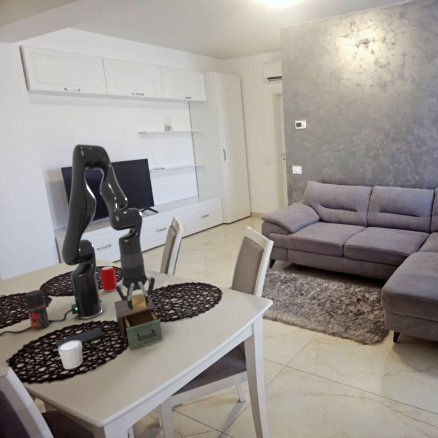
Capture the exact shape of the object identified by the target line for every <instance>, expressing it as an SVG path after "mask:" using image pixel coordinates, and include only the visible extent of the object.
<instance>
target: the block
mask: <svg viewBox="0 0 438 438" xmlns="http://www.w3.org/2000/svg"><path fill="white" fill-rule="evenodd" d="M131 300H132V306H133V311H137V310H141V309H144V308H146V302H145V297H144V294H143V292H142V293H137V294H132V296H131Z"/></svg>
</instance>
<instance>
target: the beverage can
mask: <svg viewBox="0 0 438 438" xmlns="http://www.w3.org/2000/svg"><path fill="white" fill-rule="evenodd" d="M100 277H101V282H102V288H103V289H102V290H103V291H105V292H109V293H110V292H114V291H115V290H116V288H115V285H116V284H118V283H117V278H116V271H115V268H114V267H113V266H112V265H108V266H104V267H102V268H101V270H100Z"/></svg>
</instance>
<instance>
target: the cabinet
mask: <svg viewBox="0 0 438 438" xmlns="http://www.w3.org/2000/svg"><path fill="white" fill-rule="evenodd" d="M148 300H149V303H148V304H147V306H146V308H144V309H141V310H137V311H133V309H132V310H131V309H129V308H128V304H127V300H124V301H123V300H122V299H120V300H116V301H114V302H113V303H114V311H115V316H116V317H115V318H116V323H117V326H118V329H119V331H120V334H121V337H122V339H123V340H128V338H127V335H126V332H125V328H124V321H123V318H125V317H128V316H132V315H136V314H139V313H143V312H147V311H150V310H152V312H153V313H154V315H155V317H156V318H157V310H156V306H155V305H154V303H153V302H152V301H151V299H150V297H149V296H148Z"/></svg>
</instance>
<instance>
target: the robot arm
mask: <svg viewBox="0 0 438 438" xmlns="http://www.w3.org/2000/svg"><path fill="white" fill-rule="evenodd" d="M72 150H73V151H72V156H71V157H72V158H71V159H72V160H71V187H70V188H71V189H70V195H69V201H68V212H67V214H68V215H67V223H66V230H65V234H64V238H63V242H62V248H61V258H62V260H63V262H64V263H65V265H67V266H70V267H71V266H77V267H76V268H75V269H73V270H72V271H71V272H70V279H71V285H72V290H73V295H74V302H75V303H73V304H71V309H69V310H68V311H66V312H65V313H64V315H63V318H62V319H59V320H55V319H48V320H49V323H57V322H64V321H65V320H66V319H67V315H68V314H70V313H72V316H73V315H77V319H78V320H79V321H80V320H89V319H93V318H96V317H98V316H100V315H101V314H102V313H103V309H102V308H103V307H102V303H103V301H102V300H101V297H100V291H99V284H98V278H97V259H96V250H95V246H94V244H93V243H92V242H91V241H90V240H89V239H85V238H84V239H82V238H83V235H84V234H85V232H86V230H87V229H88V227H89V226H90V225H91V223H92V222H93V220H94V217H95V215H96V208H97V199H96V196H95V194H94V192H93V191H92V189H91V188H90V186H89V185H88V182H87V180H86V170H99V171H100V172H101V174H102V178H101V182H100V185H99V193H100V196H101V198H102V200H103V202H104V203H105V206H106V208H107V212H108V220H109V225H110V227H111V228H112V229H113V230H115V231H117V232H121V231H125V230H128V232H127V233H125V234H124V235H122V236H120V237H119V238H118V247H119V259H120V267H121V274H122V282H119V284H118V283H117V284H116V285H115V288H116V289H115V290H116V292H117V294H118V296H119V297H120V300H123V301H124V300H127V304H128V308H129V309H131V310H132V309H133V306H132V300H131V296H133V292H135V291H140V290H141V292H142V293H143V295H144V297H145V302H146V306H147V304H148V303H149V300H148V297H149V295H151V294H153V292H154V289H155V288H154V287H155V282H156V279H155V277H154V276H147V275H146V269H145V259H144V255H143V252H142V246H141V234H142V227H143V214H142V212H141V211H140V210H139V209H138V208H136V207H131V208H126V207H127V206H128V198H127V196H126V195H125V193H124V191H123V189H122V188H121V186H120V184H119V182H118V179H117V176H116V174H115V170H114V168H113V165H112V162H111V159H110V156H109V154H108V152H107V150H106V149H105V148H104V147H103V146H102V145H97V144H83V143H82V144H81V143H80V144H76V145H75V146H74V148H73V149H72ZM125 208H126V209H125ZM147 282H148V288H147V290H146V288H145V284H146V283H147ZM123 287H124V288H126V295H124V293H123V291H122V290H123ZM30 329H31V330H32V327H31V326H28V327H27V328H24V329H21V330H16V331H14V330H4V331H2V332H0V337H2V335H4V334H20V333H23V332H26V331H29V330H30Z"/></svg>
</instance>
